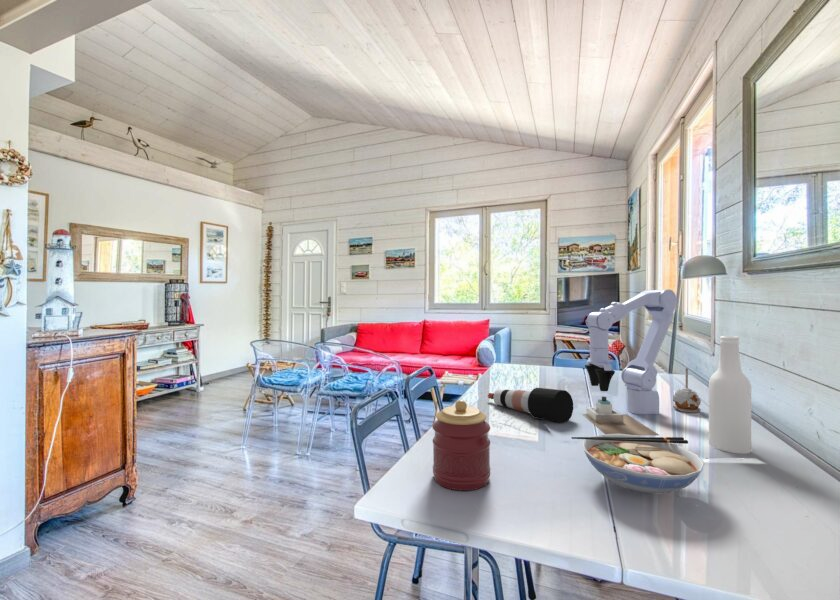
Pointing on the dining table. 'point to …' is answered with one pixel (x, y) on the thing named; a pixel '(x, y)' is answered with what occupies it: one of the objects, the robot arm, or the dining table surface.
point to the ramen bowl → (643, 462)
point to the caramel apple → (686, 399)
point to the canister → (461, 448)
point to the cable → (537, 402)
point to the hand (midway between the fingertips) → (599, 388)
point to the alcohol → (730, 401)
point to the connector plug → (603, 406)
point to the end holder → (604, 416)
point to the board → (623, 427)
